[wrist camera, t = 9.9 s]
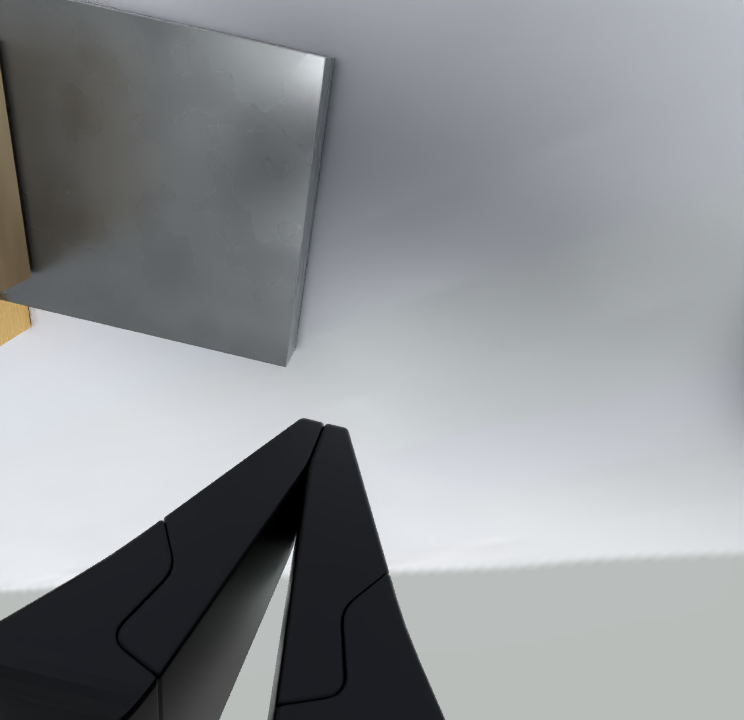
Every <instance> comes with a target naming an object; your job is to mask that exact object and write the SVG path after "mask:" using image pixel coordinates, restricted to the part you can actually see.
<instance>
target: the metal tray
mask: <svg viewBox="0 0 744 720" xmlns="http://www.w3.org/2000/svg"><path fill="white" fill-rule="evenodd" d="M334 60H335V58H332V57H328V56H323V55H319V54H314V53H310V52H305V51H301V50H296V49H292V48H288V47H283V46H279V45H274V44H270V43H265V42H261V41H256V40H252V39H248V38H243V37H239V36H234V35H230V34H225V33H221V32H216V31H212V30H208V29H203V28H199V27H194V26H190V25H185V24H181V23H176V22H172V21H168V20H163V19H159V18H154V17H150V16H145V15H141V14H136V13H132V12H128V11H123V10H119V9H114V8H110V7H105V6H101V5H96V4H92V3H88V2H83V1H79V0H0V69H1V76H2V82H3V89H4V96H5V103H6V109H7V116H8V123H9V130H10V136H11V143H12V150H13V157H14V163H15V170H16V177H17V184H18V190H19V197H20V204H21V211H22V217H23V224H24V231H25V238H26V244H27V251H28V258H29V265H30V271H31V277H30V278H28V279H26V280H24V281H22V282H20V283H18V284H16V285H14V286H12V287H10V288H8V289H6V290H4V291H3V292H1V293H0V346H1V345H3V344H4V343H6V342H7V341H9V340H11V339H12V338H14V337H15V336H17V335H18V334H20V333H22V332H23V331H25V330H26V329H28V328H29V327H31V323H30V316H29V310H28V306H29V307H33V308H37V309H42V310H46V311H50V312H54V313H59V314H63V315H67V316H71V317H76V318H80V319H84V320H88V321H93V322H97V323H101V324H105V325H110V326H114V327H118V328H122V329H127V330H131V331H135V332H139V333H144V334H148V335H152V336H156V337H161V338H165V339H169V340H173V341H178V342H182V343H186V344H190V345H194V346H199V347H203V348H207V349H211V350H216V351H220V352H224V353H228V354H233V355H237V356H241V357H245V358H250V359H254V360H258V361H262V362H267V363H271V364H275V365H279V366H284V367H286V366H287V364H288V362H289V360H290V358H291V356H292V354H293V353H294V351H295V347H296V340H297V333H298V325H299V318H300V311H301V303H302V296H303V288H304V281H305V274H306V266H307V259H308V252H309V244H310V237H311V229H312V222H313V215H314V207H315V200H316V193H317V185H318V178H319V170H320V163H321V156H322V148H323V141H324V134H325V126H326V119H327V111H328V104H329V97H330V89H331V82H332V75H333V67H334Z"/></svg>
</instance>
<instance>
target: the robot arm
mask: <svg viewBox="0 0 744 720" xmlns="http://www.w3.org/2000/svg"><path fill="white" fill-rule="evenodd" d="M295 539H296V540H295ZM294 542H295V546H294ZM293 546H294V551H293V557H292V564H291V570H290V577H289V583H288V590H287V596H286V603H285V609H284V616H283V622H282V629H281V636H280V643H279V648H278V655H277V662H276V668H275V674H274V681H273V687H272V694H271V700H270V707H269V714H268V720H445V718H444V716H443V713H442V711H441V709H440V706H439V704H438V702H437V700H436V697H435V695H434V693H433V691H432V688H431V686H430V683H429V681H428V679H427V676H426V674H425V672H424V670H423V667H422V665H421V663H420V660H419V658H418V655H417V653H416V650H415V648H414V645H413V643H412V640H411V638H410V635H409V633H408V630H407V628H406V625H405V622H404V619H403V616H402V613H401V610H400V607H399V603H398V601H397V597H396V594H395V590H394V587H393V583H392V580H391V577H390V575H388V574H389V570H388V567H387V563H386V560H385V557H384V553H383V550H382V546H381V543H380V539H379V536H378V532H377V529H376V525H375V522H374V518H373V515H372V511H371V508H370V504H369V501H368V497H367V494H366V490H365V487H364V483H363V480H362V476H361V473H360V470H359V466H358V463H357V459H356V456H355V452H354V449H353V445H352V442H351V438H350V435H349V432H348V430H347V429H346V428H344V427H340V426H335V425H331V424H326V425H325V426H324V425H323V423H322V422H318V421H314V420H310V419H306V418H302V419H300V420H298V421H297V422H295V423H294V424H293V425H291V426H290V427H288V428H287V429H286V430H284V431H283V432H282V433H280V434H279V435H277V436H276V437H275V438H273V439H272V440H271V441H269V442H268V443H266V444H265V445H264V446H262V447H261V448H260V449H258V450H257V451H255V452H254V453H253V454H251V455H250V456H248V457H247V458H246V459H244V460H243V461H242V462H240V463H239V464H237V465H236V466H235V467H233V468H232V469H231V470H229V471H228V472H226V473H225V474H224V475H222V476H221V477H220V478H218V479H217V480H215V481H214V482H213V483H211V484H210V485H209V486H207V487H206V488H204V489H203V490H202V491H200V492H199V493H198V494H196V495H195V496H193V497H192V498H191V499H189V500H188V501H187V502H185V503H184V504H182V505H181V506H180V507H178V508H177V509H176V510H174V511H173V512H171V513H170V514H169V515H167V516H166V517H165V518H164V521H162V520H161V521H159V522H157V523H156V524H155V525H153V526H152V527H150V528H149V529H148V530H146V531H145V532H143V533H142V534H141V535H139V536H138V537H136V538H135V539H133V540H132V541H130V542H129V543H128V544H126V545H125V546H123V547H122V548H120V549H119V550H117V551H116V552H114V553H113V554H112V555H110V556H108V557H107V558H105V559H103V560H102V561H100V562H99V563H97V564H95V565H94V566H92V567H90V568H89V569H87V570H86V571H84V572H82V573H81V574H79V575H77V576H76V577H74V578H72V579H71V580H69V581H67V582H66V583H64V584H62V585H61V586H59V587H57V588H55V589H54V590H52V591H50V592H49V593H47V594H45V595H43V596H42V597H40V598H38V599H37V600H35V601H33V602H32V603H30V604H28V605H26V606H25V607H23V608H21V609H20V610H18V611H16V612H14V613H13V614H11V615H9V616H8V617H6V618H4V619H2V620H1V621H0V720H219V719H220V716H221V714H222V712H223V710H224V707H225V705H226V702H227V700H228V698H229V696H230V693H231V691H232V689H233V686H234V684H235V681H236V679H237V677H238V675H239V672H240V670H241V668H242V665H243V663H244V660H245V658H246V656H247V654H248V651H249V649H250V647H251V644H252V642H253V640H254V637H255V635H256V633H257V630H258V628H259V626H260V623H261V621H262V619H263V616H264V614H265V612H266V609H267V607H268V605H269V602H270V600H271V598H272V595H273V593H274V591H275V588H276V586H277V584H278V581H279V579H280V577H281V575H282V572H283V570H284V568H285V565H286V563H287V561H288V558H289V556H290V553H291V551H292V548H293Z"/></svg>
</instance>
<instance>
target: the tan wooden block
mask: <svg viewBox="0 0 744 720" xmlns="http://www.w3.org/2000/svg"><path fill="white" fill-rule="evenodd" d="M30 277H31V271H30V265H29V258H28V251H27V244H26V238H25V231H24V224H23V217H22V211H21V204H20V197H19V190H18V184H17V177H16V170H15V163H14V157H13V150H12V143H11V136H10V130H9V123H8V116H7V109H6V103H5V96H4V89H3V82H2V76H1V69H0V293H1V292H3V291H4V290H6V289H8V288H10V287H12V286H14V285H16V284H18V283H20V282H22V281H24V280H26V279H28V278H30Z"/></svg>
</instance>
